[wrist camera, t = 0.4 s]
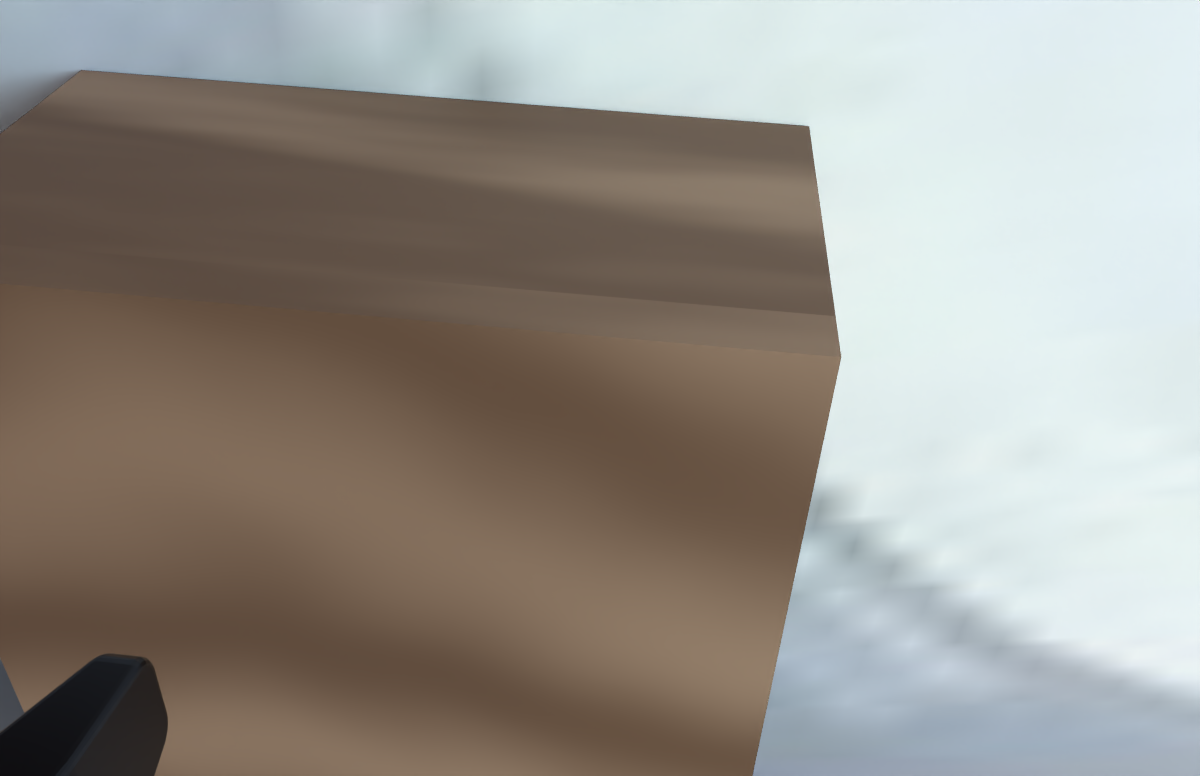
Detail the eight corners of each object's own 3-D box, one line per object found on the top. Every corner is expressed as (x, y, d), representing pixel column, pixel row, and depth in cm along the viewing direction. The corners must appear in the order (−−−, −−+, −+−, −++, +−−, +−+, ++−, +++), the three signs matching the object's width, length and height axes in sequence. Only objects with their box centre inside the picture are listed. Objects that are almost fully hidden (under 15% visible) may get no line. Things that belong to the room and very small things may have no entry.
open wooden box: (718, 675, 30) (715, 949, 24) (219, 623, 31) (96, 878, 25) (809, 126, 21) (841, 357, 15) (81, 70, 21) (-172, 268, 15)
